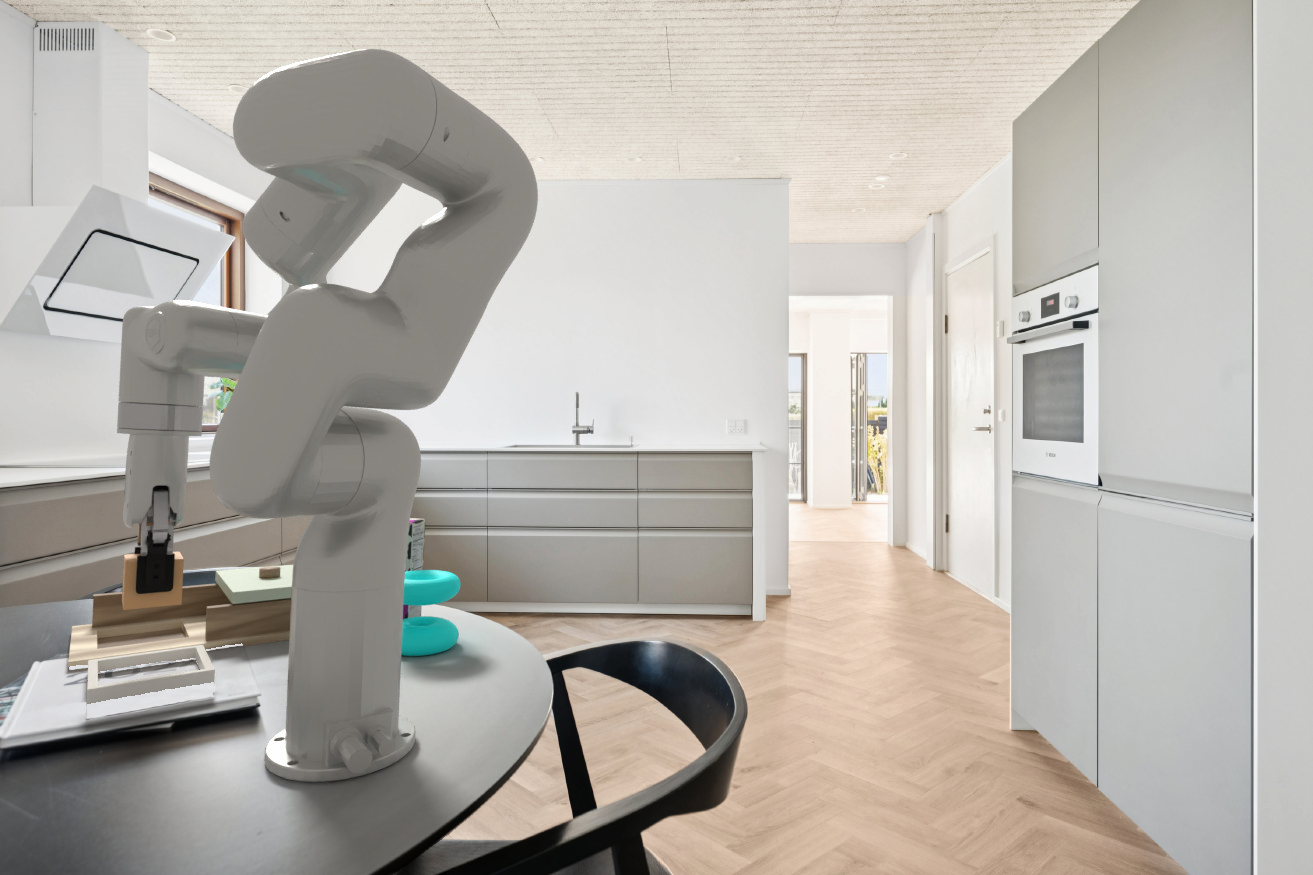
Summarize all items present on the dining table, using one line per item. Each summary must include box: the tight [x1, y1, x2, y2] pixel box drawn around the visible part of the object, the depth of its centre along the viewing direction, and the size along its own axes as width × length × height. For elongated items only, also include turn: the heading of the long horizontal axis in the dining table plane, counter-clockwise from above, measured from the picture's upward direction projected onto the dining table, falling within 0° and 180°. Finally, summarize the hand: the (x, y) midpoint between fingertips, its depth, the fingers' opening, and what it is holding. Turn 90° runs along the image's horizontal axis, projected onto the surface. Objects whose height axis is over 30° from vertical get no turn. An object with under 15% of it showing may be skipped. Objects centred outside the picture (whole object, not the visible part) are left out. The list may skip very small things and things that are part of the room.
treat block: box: [121, 551, 185, 610], centre depth 74 cm, size 5×5×5 cm
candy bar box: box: [403, 517, 426, 619], centre depth 103 cm, size 11×5×16 cm, turn 84°
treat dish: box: [86, 645, 216, 705], centre depth 74 cm, size 11×11×3 cm
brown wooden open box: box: [67, 583, 291, 668], centre depth 90 cm, size 17×27×7 cm, turn 130°
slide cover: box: [214, 564, 293, 604], centre depth 95 cm, size 16×11×3 cm
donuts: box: [401, 569, 462, 657], centre depth 93 cm, size 10×10×10 cm
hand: (152, 584), depth 74 cm, fingers closed on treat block, 5 cm apart
